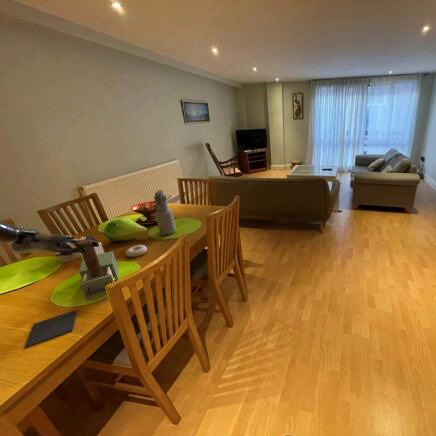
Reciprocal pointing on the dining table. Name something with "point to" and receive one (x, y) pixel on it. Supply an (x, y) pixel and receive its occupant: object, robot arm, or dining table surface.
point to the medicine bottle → (96, 248)
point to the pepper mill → (90, 258)
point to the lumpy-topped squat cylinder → (69, 257)
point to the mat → (51, 328)
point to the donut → (136, 251)
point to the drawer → (96, 283)
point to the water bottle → (163, 214)
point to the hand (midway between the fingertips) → (92, 247)
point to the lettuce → (123, 230)
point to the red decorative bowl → (146, 212)
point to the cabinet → (103, 263)
